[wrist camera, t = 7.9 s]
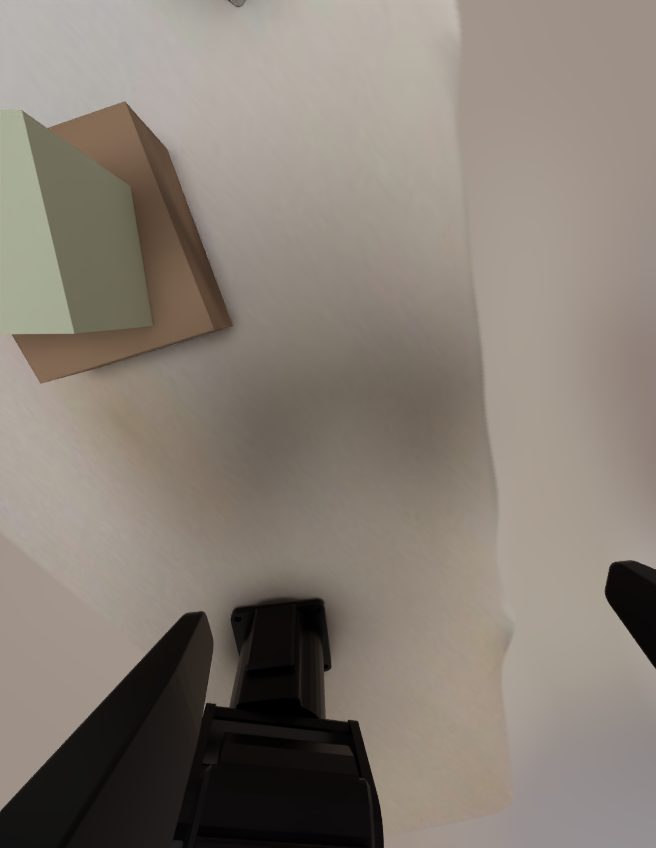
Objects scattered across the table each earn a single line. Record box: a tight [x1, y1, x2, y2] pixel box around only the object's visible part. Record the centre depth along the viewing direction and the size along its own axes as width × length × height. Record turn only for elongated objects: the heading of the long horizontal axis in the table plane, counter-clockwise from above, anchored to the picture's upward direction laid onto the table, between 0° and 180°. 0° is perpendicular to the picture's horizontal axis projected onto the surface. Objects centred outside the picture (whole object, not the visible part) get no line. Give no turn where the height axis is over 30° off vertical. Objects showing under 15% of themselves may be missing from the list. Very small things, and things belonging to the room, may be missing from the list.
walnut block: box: [12, 102, 233, 383], centre depth 15 cm, size 8×8×4 cm
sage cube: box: [0, 110, 153, 334], centre depth 11 cm, size 5×5×5 cm
